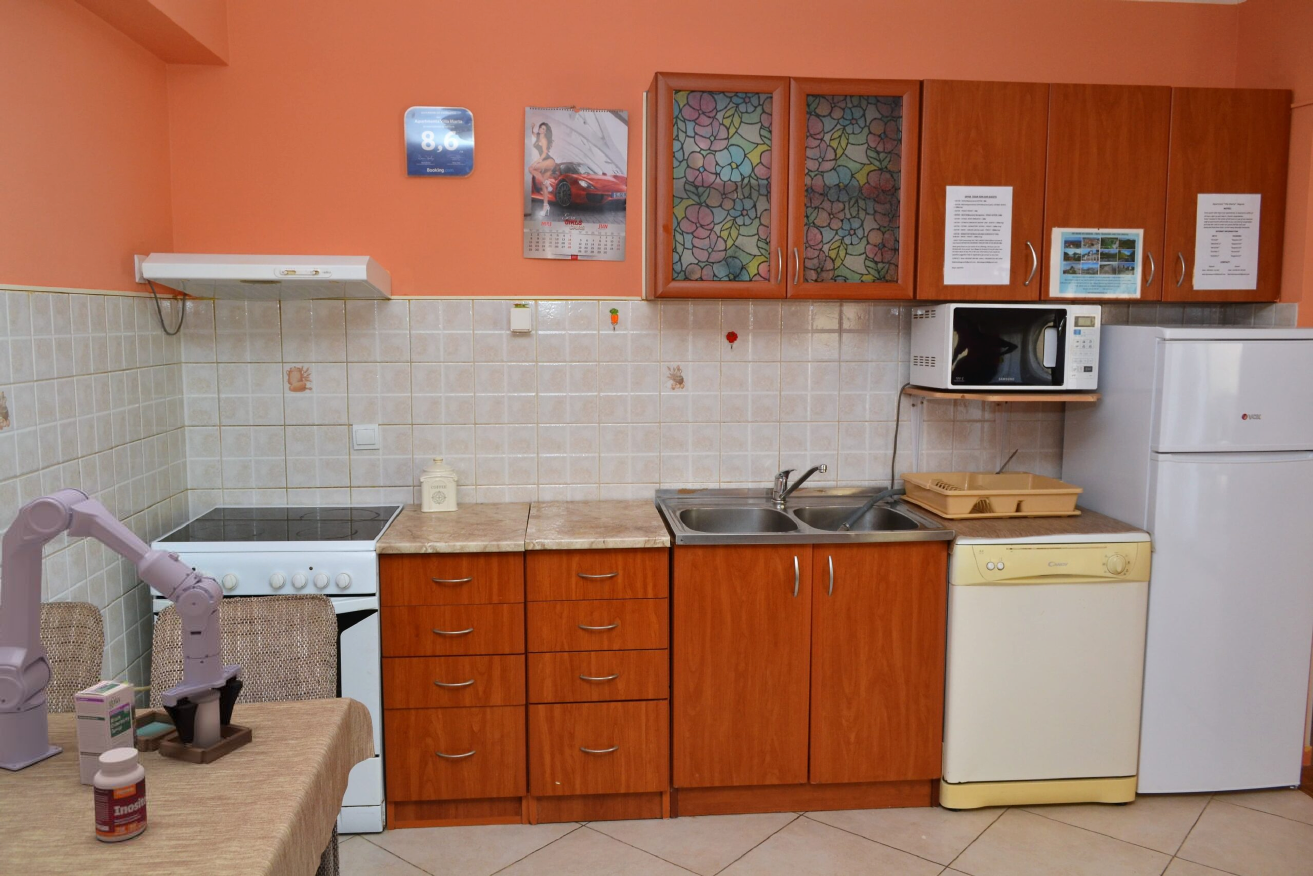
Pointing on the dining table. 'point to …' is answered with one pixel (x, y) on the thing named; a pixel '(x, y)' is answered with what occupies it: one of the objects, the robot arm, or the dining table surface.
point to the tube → (206, 719)
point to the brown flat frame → (163, 734)
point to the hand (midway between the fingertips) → (205, 733)
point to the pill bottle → (119, 795)
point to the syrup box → (104, 723)
